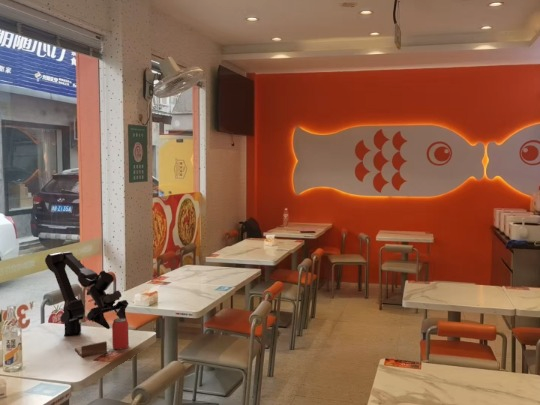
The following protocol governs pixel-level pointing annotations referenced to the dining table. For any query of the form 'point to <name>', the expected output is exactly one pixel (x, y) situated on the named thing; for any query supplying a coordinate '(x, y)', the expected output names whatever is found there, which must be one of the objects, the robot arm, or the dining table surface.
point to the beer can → (120, 333)
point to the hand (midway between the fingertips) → (117, 325)
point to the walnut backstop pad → (92, 349)
